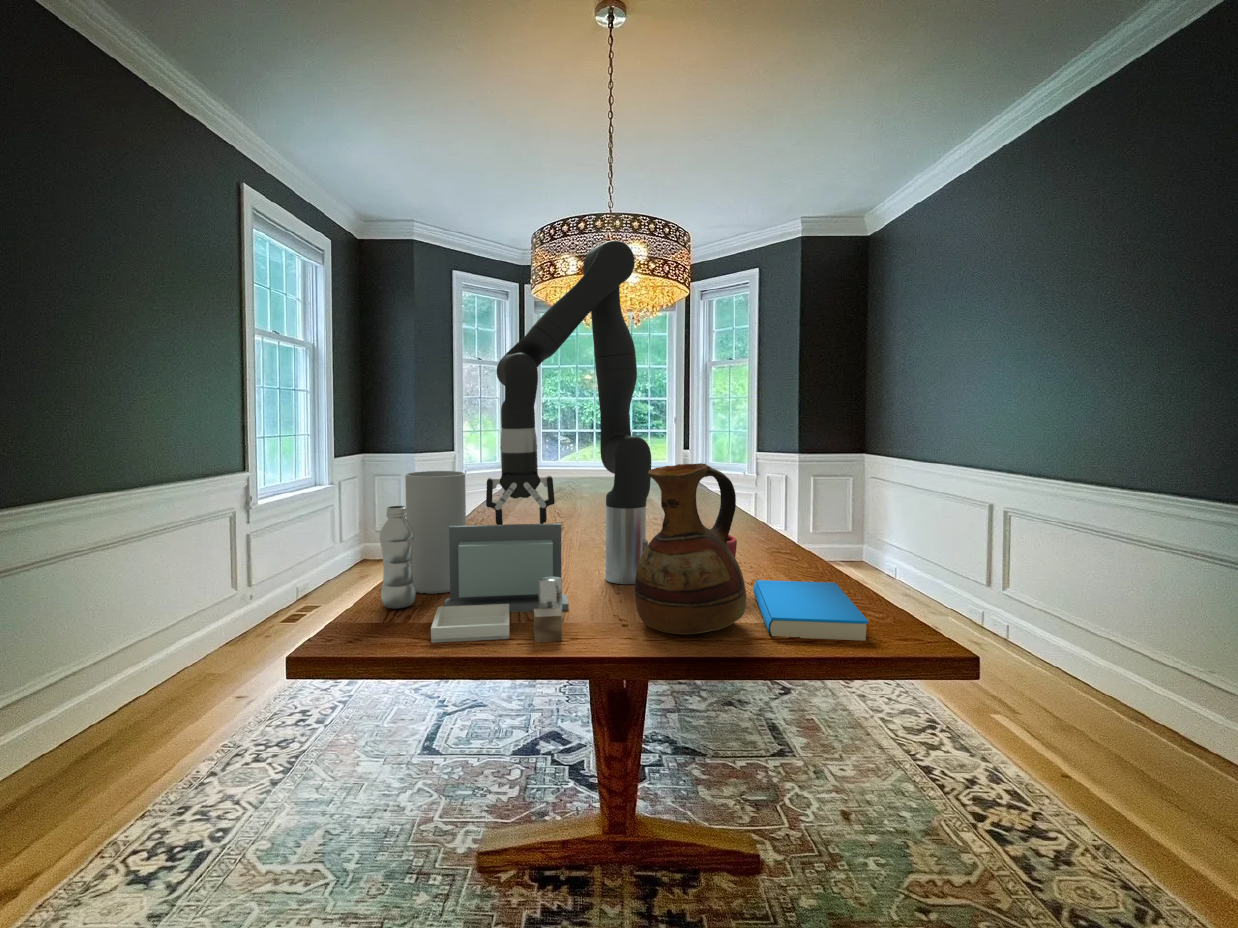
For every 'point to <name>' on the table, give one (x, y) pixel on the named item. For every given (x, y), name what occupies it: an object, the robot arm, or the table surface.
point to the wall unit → (503, 564)
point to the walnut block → (547, 625)
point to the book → (809, 610)
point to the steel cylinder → (550, 592)
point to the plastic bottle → (397, 559)
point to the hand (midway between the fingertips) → (521, 525)
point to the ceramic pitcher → (690, 559)
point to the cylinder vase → (433, 525)
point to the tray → (470, 623)
